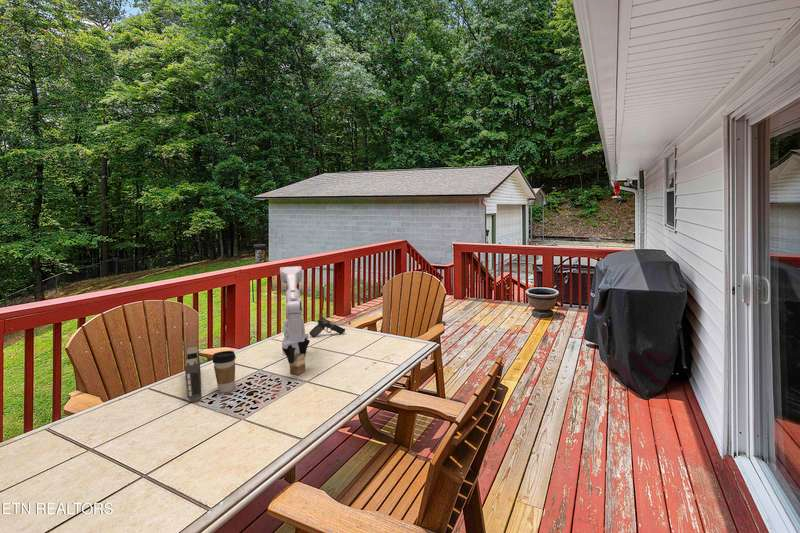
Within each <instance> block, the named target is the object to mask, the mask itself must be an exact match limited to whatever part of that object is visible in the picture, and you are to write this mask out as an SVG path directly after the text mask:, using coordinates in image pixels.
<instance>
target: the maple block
mask: <svg viewBox="0 0 800 533" xmlns="http://www.w3.org/2000/svg"><path fill="white" fill-rule="evenodd" d="M305 358H306V356H305V357H304V354H300V353H294V363H289V362H288V364H289V367H290V366H296V367H299V366H300V365H302V364H304V363H305V364H306V362H305V360H306V359H305Z"/></svg>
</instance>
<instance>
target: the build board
mask: <svg viewBox="0 0 800 533" xmlns="http://www.w3.org/2000/svg"><path fill="white" fill-rule="evenodd" d="M307 373H309V371H307V370H305V373H303V374H301V375H300V376H296V375H291V374H290V372H289V373H288V374H287V376H290V377H295V378H301V377H302V376H304V375H306V374H307Z"/></svg>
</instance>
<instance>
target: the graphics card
mask: <svg viewBox="0 0 800 533" xmlns="http://www.w3.org/2000/svg"><path fill="white" fill-rule="evenodd" d="M199 352H200V350H199V346H191V347H187V349H186V355H187V357H186V358H187V359H185V360H186V362H185V366H184V373H185V383H186V394H187V399H188V403H191V402H192V403H194V402H198V401H202V378H201V376H202V375H201V361H200V353H199ZM200 397H201V398H200Z"/></svg>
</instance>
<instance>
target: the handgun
mask: <svg viewBox="0 0 800 533" xmlns="http://www.w3.org/2000/svg"><path fill="white" fill-rule="evenodd" d="M316 322H317V325H316V326H314V327H313V328H312V329H310V331H309V333H308V335H310V336H311V337H313V338H317V337H318V336H319V335H320V334H321V333H322V332H323V331H325V332H326V333H329V334H330V333H331V332H332V331H333V332H335V333H337V334H339V335H341V334H342V335H343V333H346V328H343V327H341V326H339V325H337V324H336V323H333V322H331V321H330V320H328V319H326V318H325V317H324V316H322V317H320V318H319V320H317V319H316ZM328 329H330V331H329V330H328Z"/></svg>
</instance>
